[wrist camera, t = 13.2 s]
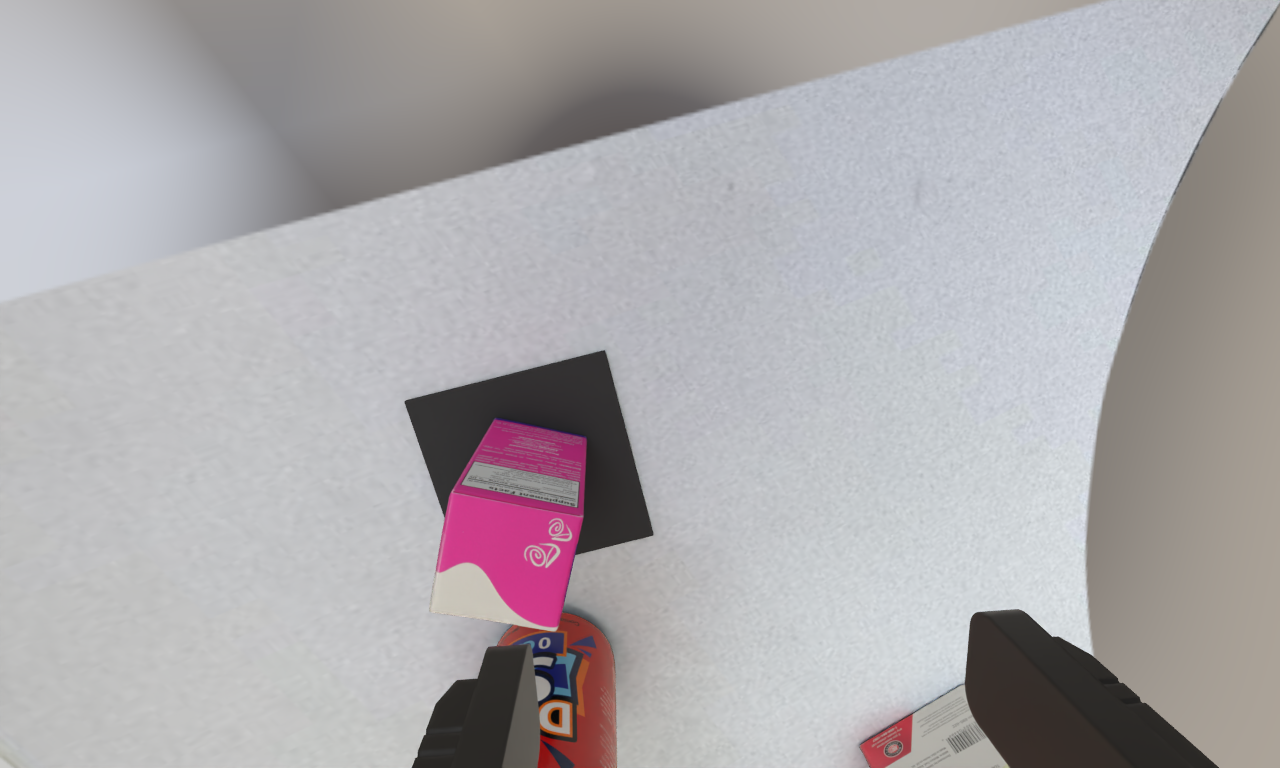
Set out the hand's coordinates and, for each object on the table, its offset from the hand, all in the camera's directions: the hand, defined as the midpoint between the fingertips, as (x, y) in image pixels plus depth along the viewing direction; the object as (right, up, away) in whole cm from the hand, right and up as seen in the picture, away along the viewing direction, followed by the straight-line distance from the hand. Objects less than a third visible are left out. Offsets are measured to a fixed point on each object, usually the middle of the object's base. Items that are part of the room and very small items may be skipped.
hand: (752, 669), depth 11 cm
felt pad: (-8, 0, +26) cm, 27 cm away
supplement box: (-8, 0, +26) cm, 27 cm away
